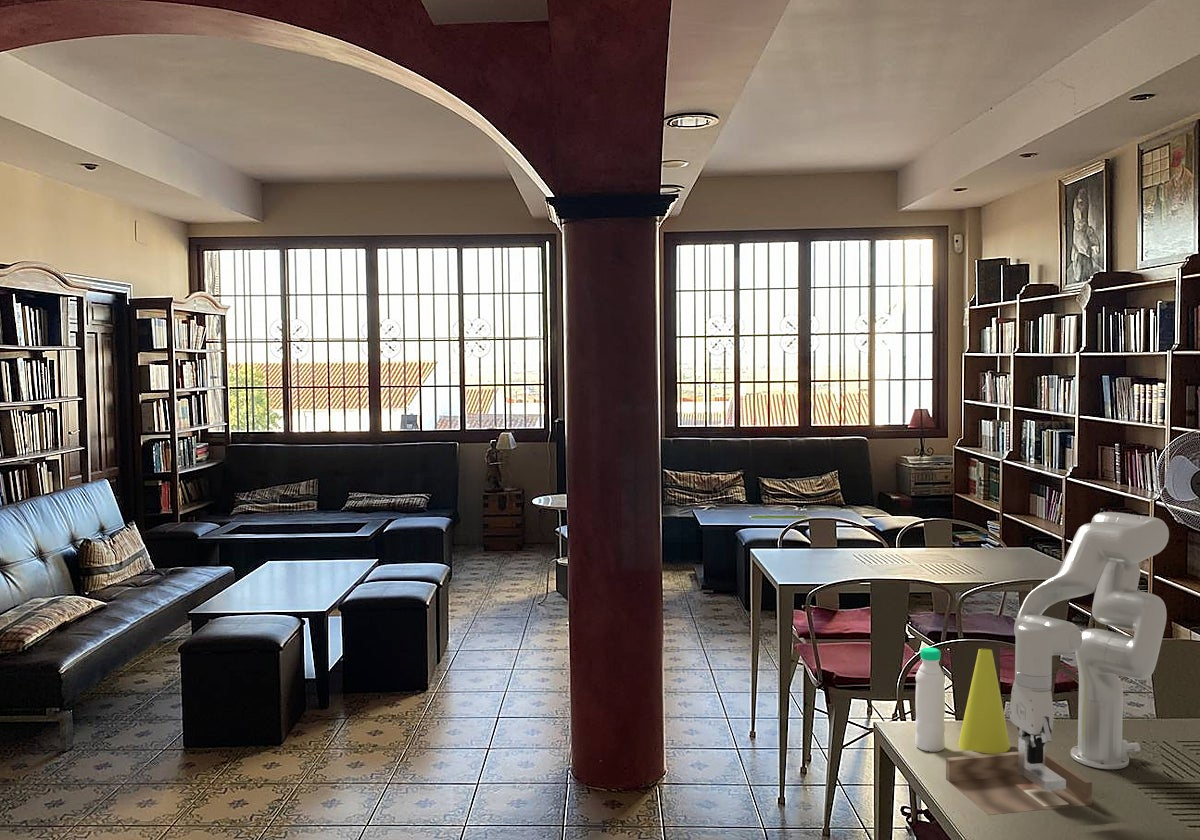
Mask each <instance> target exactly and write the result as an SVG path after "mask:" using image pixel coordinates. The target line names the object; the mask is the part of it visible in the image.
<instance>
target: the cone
mask: <svg viewBox="0 0 1200 840" xmlns="http://www.w3.org/2000/svg"><path fill="white" fill-rule="evenodd" d="M970 683H971V684H970V688H969V692H968V698H967V702H966V707H965V711H964V716H963V720H962V723H961V724H962V725H961V730H960V734H959V739H958V743H957V745H958V744H959V746H958V748H959V747H960V748H961V749H962V750H964V751H963V752H969V751H973V752H976V753H981V754H996V753H1007V752H1008V751H1009V750H1010V749H1011V744H1010V738H1009V732H1008V727H1007V722H1006V717H1005V712H1004V706H1003V701H1002V696H1001V695H1002V694H1001V690H1000V686H999V680H998V676H997V669H996V664H995V658H994V654H993V649H990V648H978V652H977V656H976V661H975V666H974V670H973V674H972V678H971V682H970ZM960 748H959V749H960ZM961 749H960V750H961ZM962 750H961V751H962Z"/></svg>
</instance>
